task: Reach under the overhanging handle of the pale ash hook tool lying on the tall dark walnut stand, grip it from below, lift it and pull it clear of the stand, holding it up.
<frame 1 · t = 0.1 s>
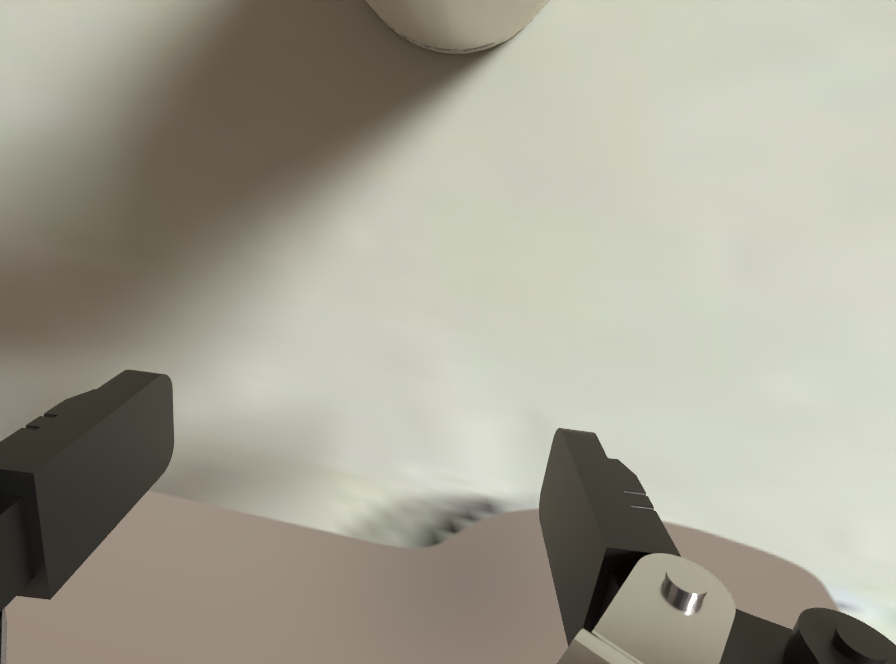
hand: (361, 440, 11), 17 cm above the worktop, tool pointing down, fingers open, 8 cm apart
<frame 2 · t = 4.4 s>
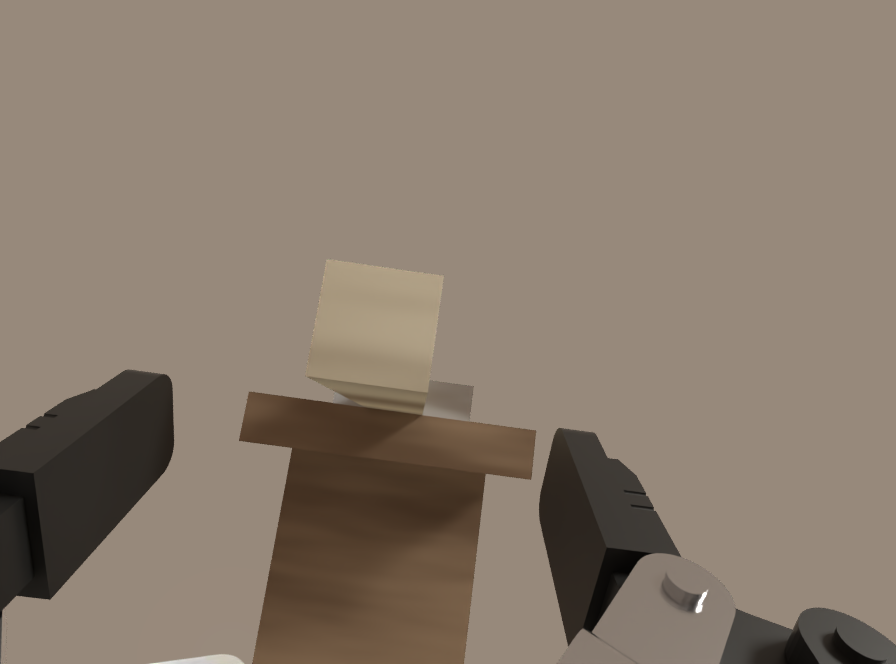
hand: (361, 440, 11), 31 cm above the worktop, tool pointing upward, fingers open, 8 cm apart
hook tool: (393, 411, 22), point 32 cm above the worktop, touching stand
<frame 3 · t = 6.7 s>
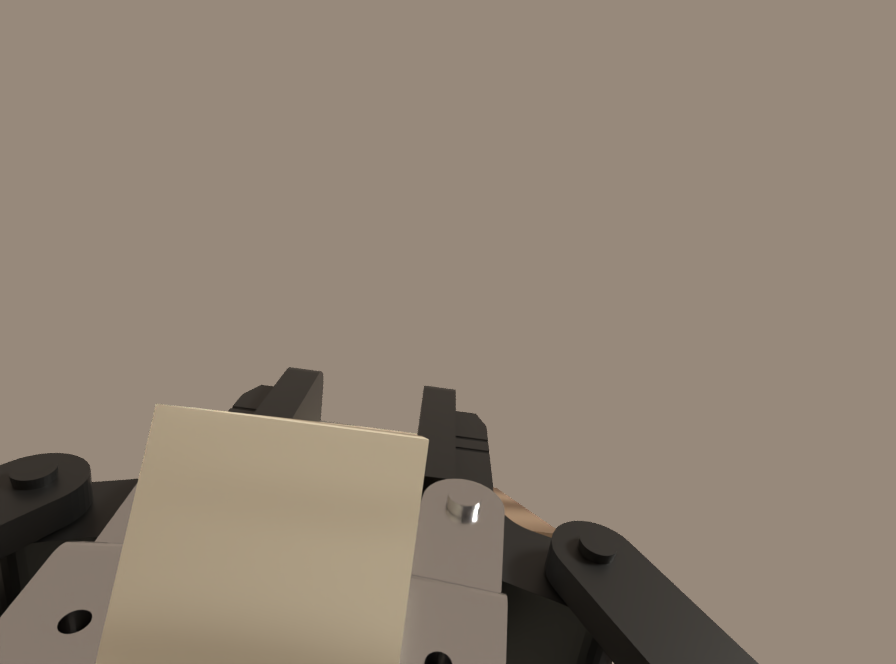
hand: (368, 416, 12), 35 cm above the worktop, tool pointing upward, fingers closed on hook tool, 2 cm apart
hook tool: (368, 510, 16), point 32 cm above the worktop, touching gripper, stand
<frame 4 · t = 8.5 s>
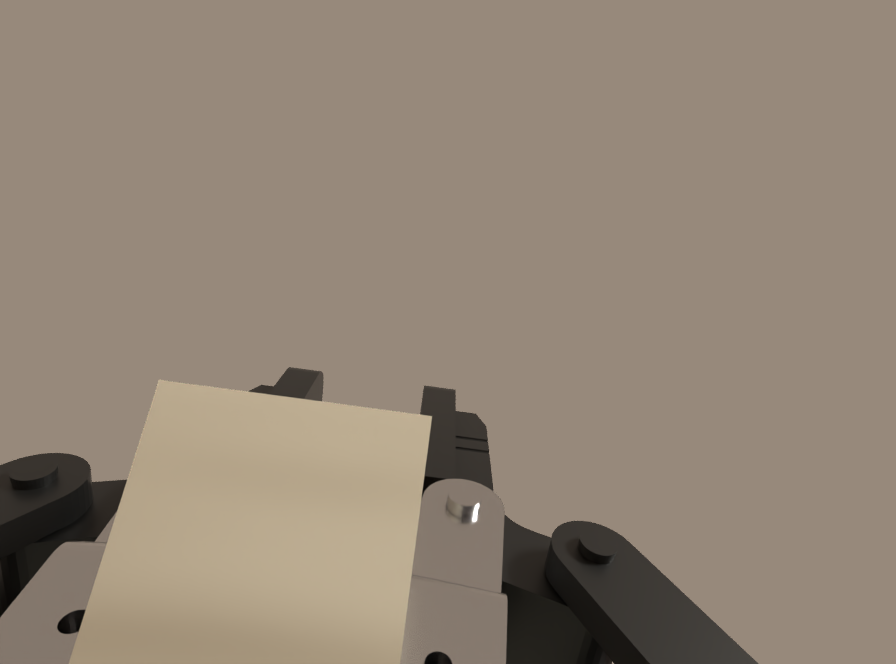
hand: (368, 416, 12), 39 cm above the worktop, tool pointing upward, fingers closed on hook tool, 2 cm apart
hook tool: (356, 576, 15), point 34 cm above the worktop, tilted 10°, touching gripper
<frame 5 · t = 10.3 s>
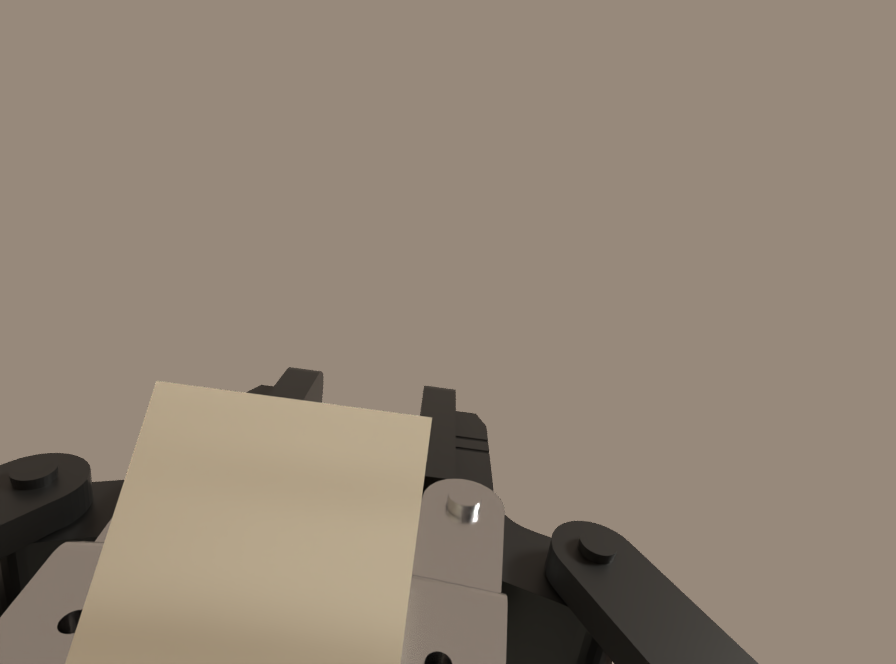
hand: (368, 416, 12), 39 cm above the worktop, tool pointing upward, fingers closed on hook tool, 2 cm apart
hook tool: (356, 580, 15), point 34 cm above the worktop, tilted 10°, touching gripper
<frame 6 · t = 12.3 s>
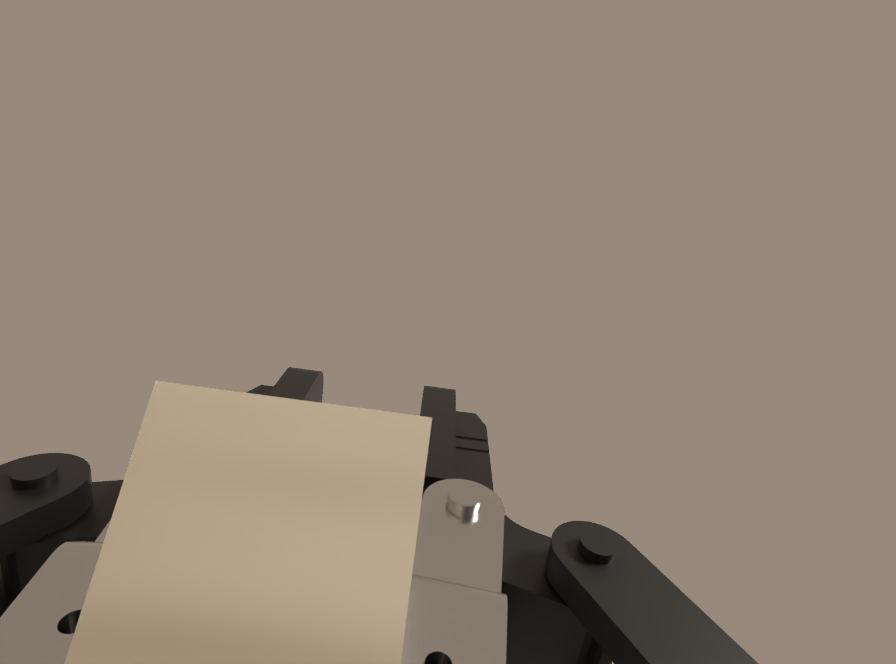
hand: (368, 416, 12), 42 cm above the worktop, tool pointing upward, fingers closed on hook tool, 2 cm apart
hook tool: (356, 580, 15), point 38 cm above the worktop, tilted 10°, touching gripper
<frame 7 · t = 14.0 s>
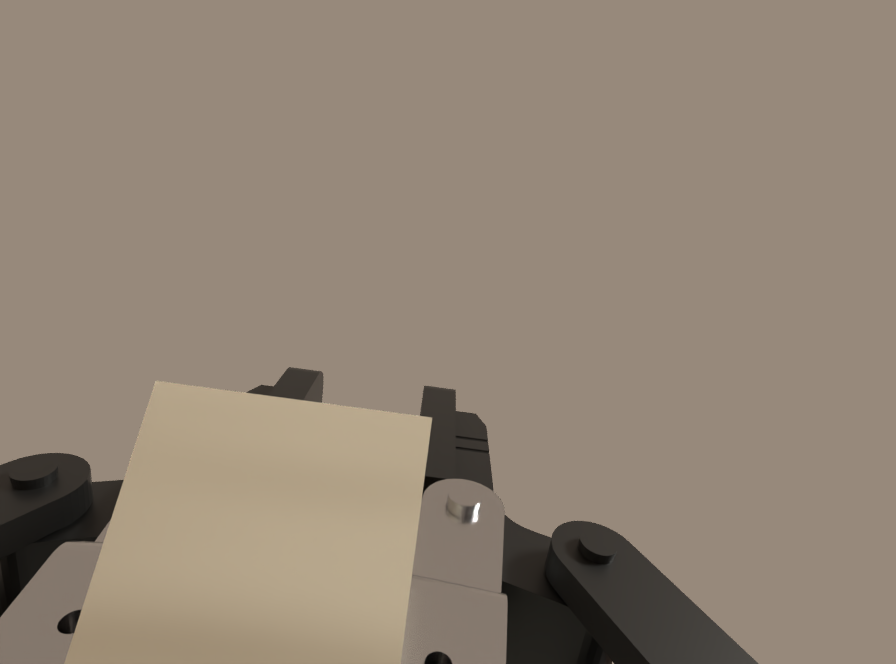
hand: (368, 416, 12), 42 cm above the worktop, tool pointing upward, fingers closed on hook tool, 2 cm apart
hook tool: (356, 580, 15), point 38 cm above the worktop, tilted 10°, touching gripper
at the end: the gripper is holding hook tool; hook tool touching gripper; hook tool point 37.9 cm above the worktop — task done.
